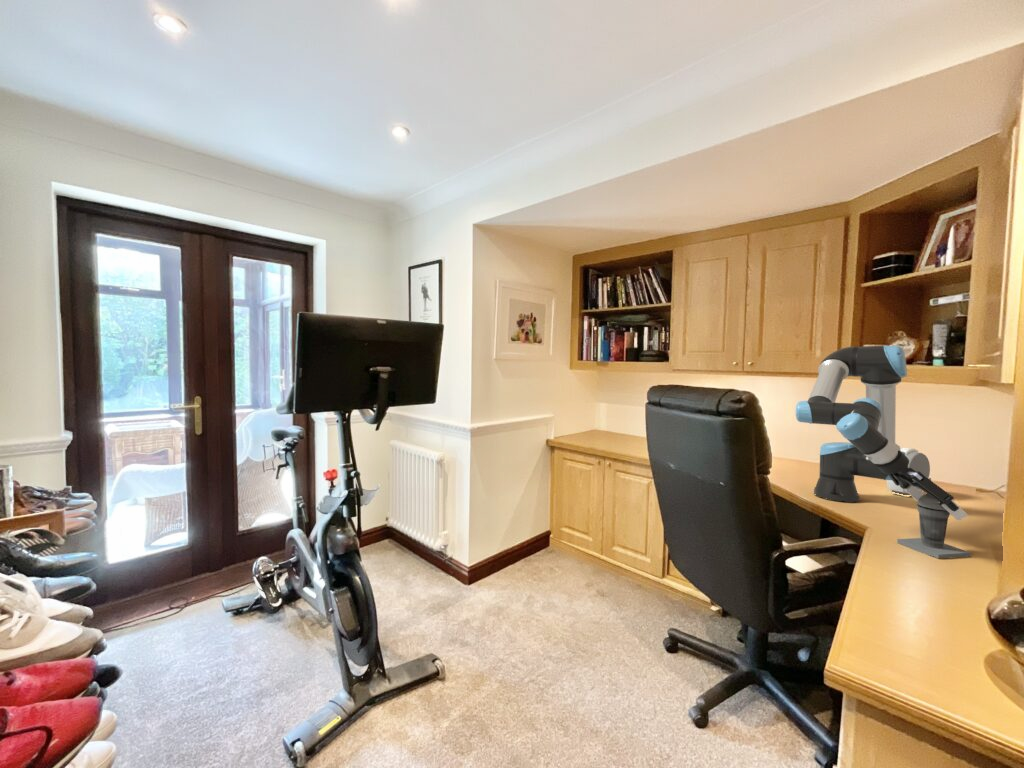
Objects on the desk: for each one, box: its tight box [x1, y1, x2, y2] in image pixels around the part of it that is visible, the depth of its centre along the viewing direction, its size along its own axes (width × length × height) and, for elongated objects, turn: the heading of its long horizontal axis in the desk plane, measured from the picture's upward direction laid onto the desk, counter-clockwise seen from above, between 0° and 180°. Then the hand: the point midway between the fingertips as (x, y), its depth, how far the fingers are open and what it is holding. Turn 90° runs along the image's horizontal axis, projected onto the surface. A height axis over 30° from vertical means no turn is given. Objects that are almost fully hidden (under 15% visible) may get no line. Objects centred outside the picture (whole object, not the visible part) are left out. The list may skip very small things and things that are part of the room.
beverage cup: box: [916, 477, 951, 549], centre depth 124 cm, size 7×7×20 cm
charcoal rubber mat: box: [896, 537, 972, 559], centre depth 124 cm, size 11×11×1 cm
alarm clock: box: [886, 447, 931, 495], centre depth 181 cm, size 18×8×20 cm, turn 110°
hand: (943, 509), depth 123 cm, fingers open, 13 cm apart
